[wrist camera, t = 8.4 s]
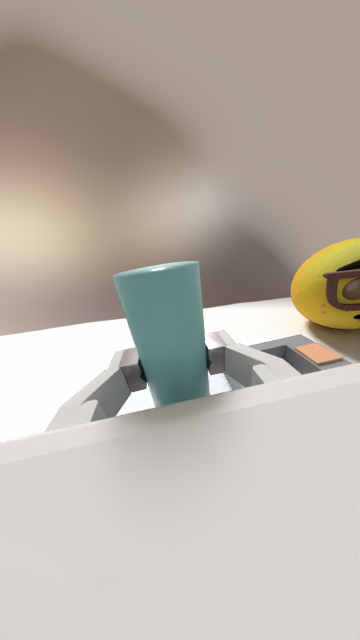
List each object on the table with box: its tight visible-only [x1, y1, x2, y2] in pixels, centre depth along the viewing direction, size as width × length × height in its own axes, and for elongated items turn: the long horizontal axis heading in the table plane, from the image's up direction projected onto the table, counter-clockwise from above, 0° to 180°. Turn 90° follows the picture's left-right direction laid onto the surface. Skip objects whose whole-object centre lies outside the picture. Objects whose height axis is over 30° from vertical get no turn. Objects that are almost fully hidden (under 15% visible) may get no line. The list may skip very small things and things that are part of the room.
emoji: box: [291, 238, 360, 329], centre depth 25 cm, size 16×16×15 cm
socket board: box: [224, 334, 352, 390], centre depth 15 cm, size 13×17×3 cm
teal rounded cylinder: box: [113, 261, 210, 407], centre depth 9 cm, size 4×4×12 cm
